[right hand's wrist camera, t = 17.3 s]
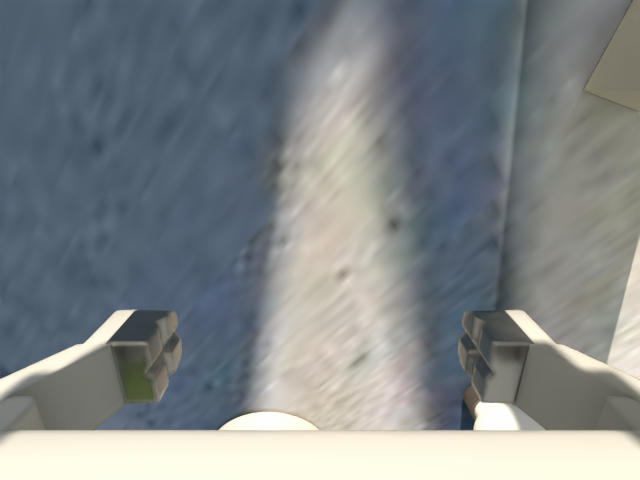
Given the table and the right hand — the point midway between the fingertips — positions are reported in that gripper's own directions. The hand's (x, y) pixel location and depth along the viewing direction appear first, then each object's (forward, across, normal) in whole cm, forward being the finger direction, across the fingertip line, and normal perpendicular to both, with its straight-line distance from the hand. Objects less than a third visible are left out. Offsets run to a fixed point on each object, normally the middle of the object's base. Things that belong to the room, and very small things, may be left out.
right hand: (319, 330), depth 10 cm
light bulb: (+22, -18, +23) cm, 37 cm away
